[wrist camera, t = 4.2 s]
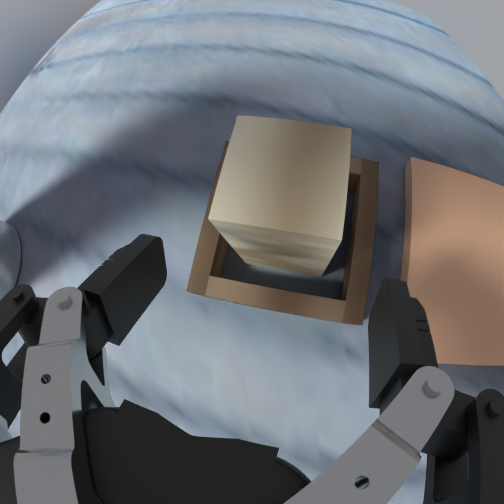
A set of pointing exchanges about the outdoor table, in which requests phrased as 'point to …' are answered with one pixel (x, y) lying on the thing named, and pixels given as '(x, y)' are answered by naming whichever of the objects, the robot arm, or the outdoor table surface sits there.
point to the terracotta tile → (456, 260)
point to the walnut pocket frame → (344, 310)
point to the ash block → (283, 193)
